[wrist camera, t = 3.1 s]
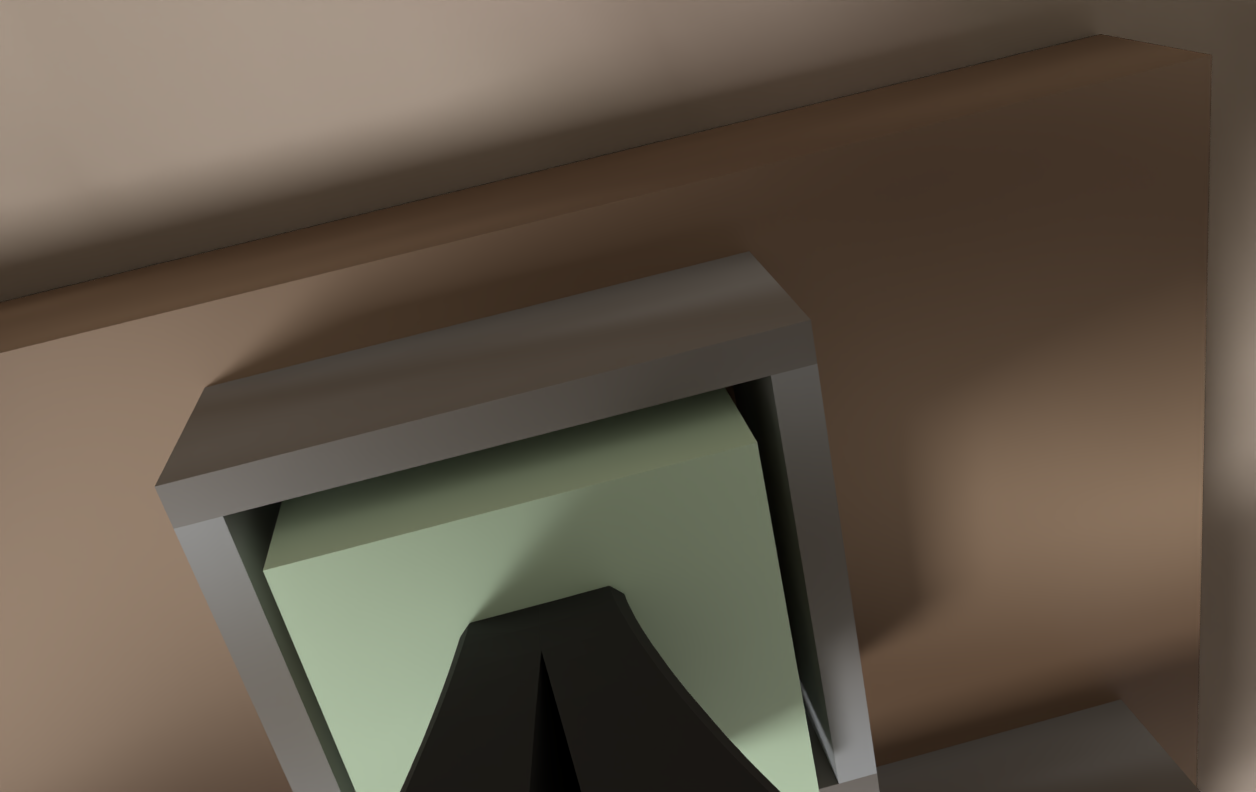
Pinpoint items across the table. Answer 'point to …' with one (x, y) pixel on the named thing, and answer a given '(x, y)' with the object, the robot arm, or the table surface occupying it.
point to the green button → (547, 576)
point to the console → (662, 372)
